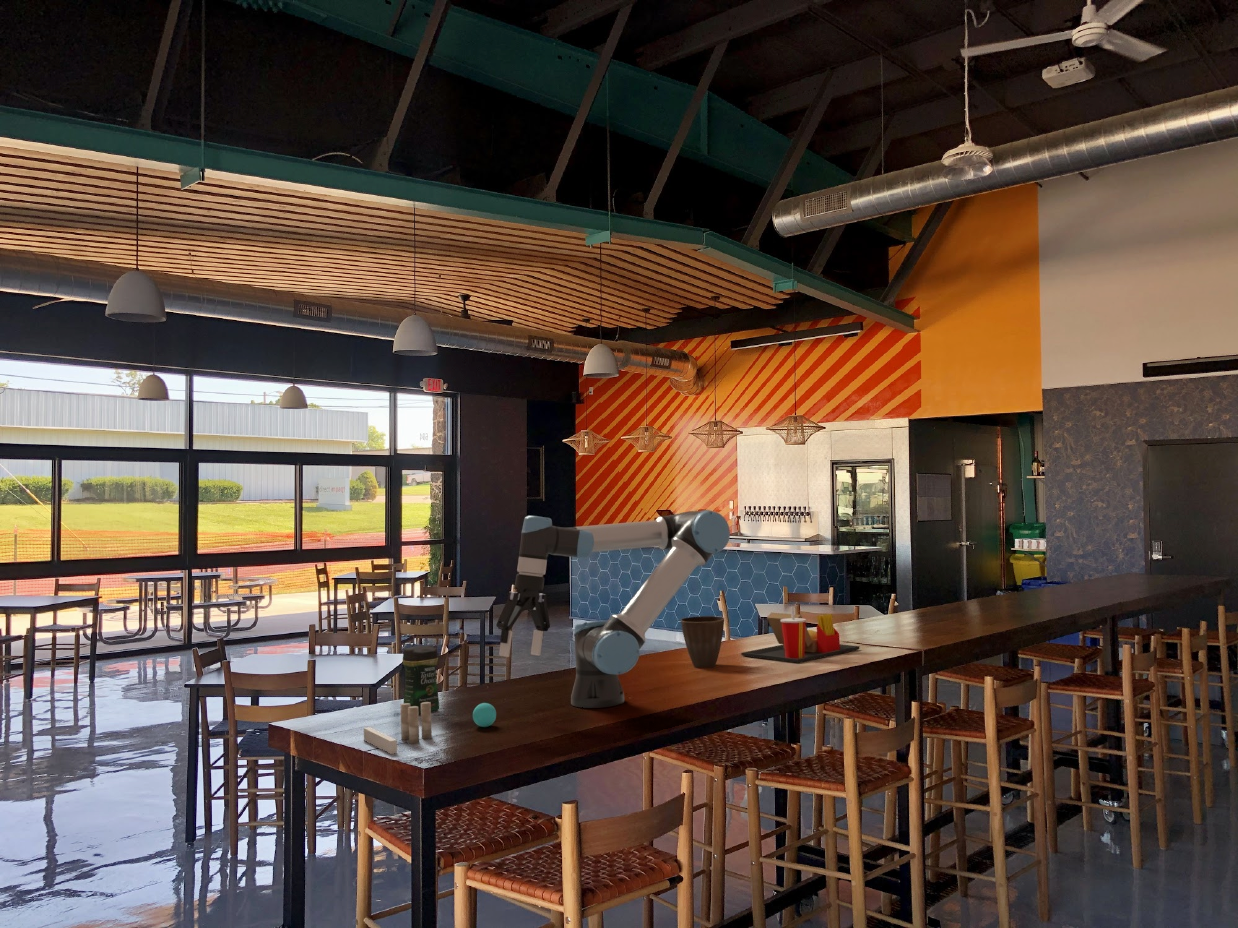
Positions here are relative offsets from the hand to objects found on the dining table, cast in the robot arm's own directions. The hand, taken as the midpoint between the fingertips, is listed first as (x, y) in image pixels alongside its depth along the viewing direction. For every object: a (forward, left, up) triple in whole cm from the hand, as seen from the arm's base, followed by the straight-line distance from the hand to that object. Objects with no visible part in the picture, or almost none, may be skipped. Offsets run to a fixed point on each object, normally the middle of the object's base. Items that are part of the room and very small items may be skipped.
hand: (520, 655), depth 242 cm
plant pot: (-87, -29, -18) cm, 93 cm away
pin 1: (+30, -6, -17) cm, 35 cm away
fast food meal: (-127, -23, -18) cm, 130 cm away
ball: (+9, -3, -14) cm, 17 cm away
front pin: (+25, -3, -17) cm, 31 cm away
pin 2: (+30, -1, -17) cm, 34 cm away
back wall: (+37, -3, -17) cm, 41 cm away
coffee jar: (+14, -32, -18) cm, 39 cm away
